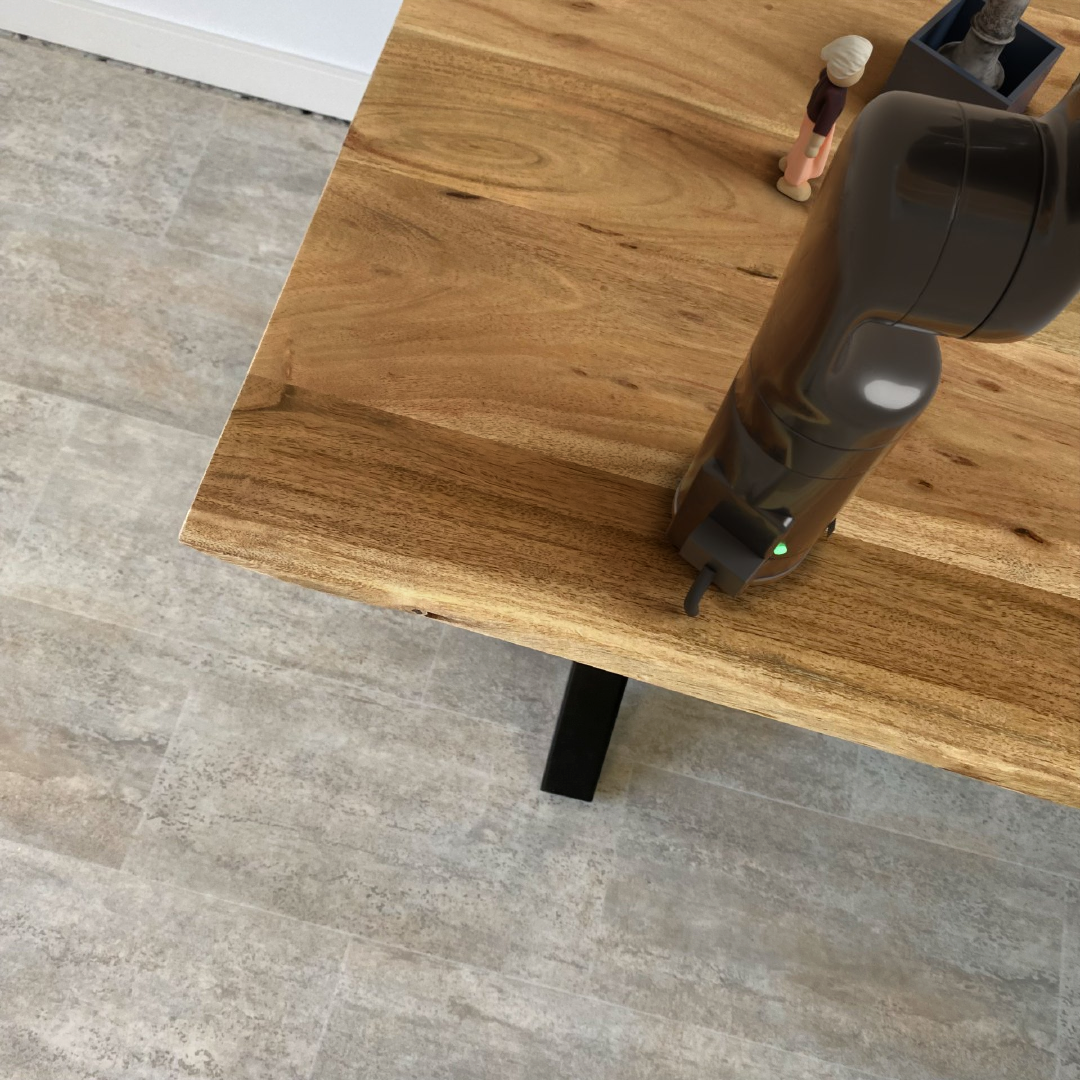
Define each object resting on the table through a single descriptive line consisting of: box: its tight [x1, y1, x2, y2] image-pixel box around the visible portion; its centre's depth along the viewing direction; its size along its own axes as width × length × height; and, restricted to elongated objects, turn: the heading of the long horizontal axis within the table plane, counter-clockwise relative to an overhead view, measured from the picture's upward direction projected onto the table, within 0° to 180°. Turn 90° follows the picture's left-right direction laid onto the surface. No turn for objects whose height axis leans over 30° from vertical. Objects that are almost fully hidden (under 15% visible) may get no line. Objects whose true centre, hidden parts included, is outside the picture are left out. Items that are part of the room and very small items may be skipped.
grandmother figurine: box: [776, 34, 874, 202], centre depth 79 cm, size 8×4×13 cm, turn 179°
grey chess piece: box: [937, 0, 1031, 91], centre depth 85 cm, size 6×6×12 cm
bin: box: [879, 0, 1066, 114], centre depth 88 cm, size 9×9×7 cm
